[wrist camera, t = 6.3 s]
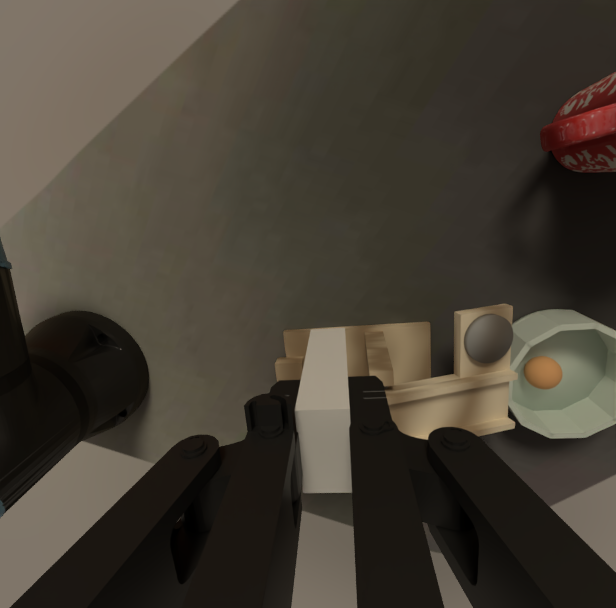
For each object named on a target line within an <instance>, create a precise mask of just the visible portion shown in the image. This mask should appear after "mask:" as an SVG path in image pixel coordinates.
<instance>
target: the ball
mask: <svg viewBox="0 0 616 608" xmlns="http://www.w3.org/2000/svg"><path fill="white" fill-rule="evenodd" d="M562 375H563V374H562V369H561V367H560V365H559V364H558V363H557V362H556V361H555V360H553V359H552V358H549V357H546V356H537V357H534V358H532V359H530V360H529V361H528V362H527V363H526V364H525V367H524V376H525V378H526V380H527V381H528V382H529V383H530V384H531V385H532V386H534V387H536V388H539V389H551V388H554V387H556V386H557V385H558V384H559V383H560V381H561V379H562Z"/></svg>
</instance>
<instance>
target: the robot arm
mask: <svg viewBox="0 0 616 608" xmlns="http://www.w3.org/2000/svg"><path fill="white" fill-rule="evenodd" d="M10 269H12V265H11V263H10V262H8V261H7V258H6V255H5V252H4V249H3V245H2V242H1V238H0V517H1V516H3V514H4V513H5V512H6V511H7V510H8V509H9V508H10V507H12V506H13V505H14V504H15V503H16V502H17V501H18V500H19V499H20V498H21V497H22V496H23V495H24V494H25V493H26V492H27V491H28V490H29V489H31V488H32V486H34V485H35V483H37V482H38V481H39V480H40V479H41V478H42V477H43V476H44V475H45V474H46V473H47V472H48V471H49V470H51V469H52V468H53V466H55V465H56V464H57V463H58V462H59V461H60V460H61V459H62V458H63V457H64V456H65V455H66V454H67V453H69V452H70V450H72V449H73V448H74V447H75V446H76V445H77V444H78V443H79V442H81V441H83V440H85V439H88V438H90V437H92V436H95V435H97V434H99V433H102V432H104V431H106V430H109V429H111V428H113V427H115V426H117V425H119V424H120V423H122V422H123V421H124V420H126V419H127V418H128V417H129V416H130V415H131V414H132V413H133V412H134V411H135V410H136V409H137V408H138V407H139V405H140V404H141V402H142V401H143V399H144V397H145V394H146V391H147V387H148V370H147V365H146V361H145V358H144V356H143V354H142V352H141V350H140V348H139V346H138V345H137V343H136V342H135V340H134V339H133V338H132V337H131V336H130V335H129V333H128V332H127V331H125V330H124V329H123V328H122V327H121V326H119V325H118V324H117V323H115V322H114V321H112V320H110V319H108V318H106V317H104V316H102V315H99V314H96V313H92V312H87V311H70V312H65V313H61V314H59V315H56V316H54V317H51V318H49V319H47V320H45V321H43V322H41V323H39V324H38V325H36V326H35V327H34V328H33V329H32V330H30V331H29V333H28V334H27V335H26V336H25V335H24V331H23V327H22V323H21V318H20V314H19V309H18V305H17V300H16V295H15V291H14V286H13V281H12V277H11V272H10ZM244 409H245V416H246V423H247V430H248V432H247V435H246V438H245V439H244V440H242V441H240V442H237V443H234V444H230V445H225V446H221V447H219V442H218V440H217V439H216V438H215V437H213V436H210V435H195V436H191V437H188V438H186V439H184V440H181V441H180V442H178V443H177V444H176V445H174V446H173V447H172V448H171V449H170V450H169V451H168V452H167V453H166V454H165V455H164V456H163V457H162V458H161V459H160V460H159V461H158V462H157V463H156V464H155V465H154V466H153V467H152V468H151V469H150V470H149V471H148V472H147V473H146V474H145V475H144V476H143V477H142V478H141V479H140V480H139V481H138V482H137V483H136V484H135V485H134V486H133V487H132V488H131V489H130V490H129V491H128V492H127V493H126V494H124V495H123V496H122V497H121V498H120V499H119V500H118V501H117V502H116V503H115V504H114V506H112V507H111V509H109V510H108V511H107V512H106V513H105V514H104V515H103V516H102V517H101V518H100V519H99V520H98V521H97V522H96V523H95V524H94V525H93V526H92V527H91V528H90V529H89V530H88V531H87V532H86V533H85V534H84V535H83V536H82V537H81V538H80V539H79V540H78V541H77V542H76V543H75V544H74V545H73V546H72V547H71V548H70V549H69V550H68V551H67V552H66V553H65V554H64V555H63V556H62V557H61V558H60V559H59V560H58V561H57V562H56V563H55V564H54V565H53V566H52V567H50V569H48V570H47V571H46V572H45V573H44V574H43V575H42V576H41V577H40V578H39V579H38V580H37V581H36V582H35V583H34V584H33V585H32V587H30V588H29V589H28V590H27V591H26V592H25V593H24V594H23V595H22V596H21V597H20V598H19V599H18V600H17V601H16V602H15V603H14V604H13V605H12V606H11V607H10V608H291V602H292V594H293V585H294V576H295V566H296V558H297V549H298V540H299V531H300V521H301V512H302V502H301V485H302V487H303V493H352V501H353V523H354V543H355V564H356V587H357V608H444V605H443V601H442V597H441V593H440V590H439V586H438V582H437V578H436V574H435V570H434V566H433V562H432V558H431V554H430V550H429V547H428V543H427V539H426V535H425V531H424V527H423V523H422V522H425V523H427V524H428V527H429V530H430V532H431V534H432V536H433V538H434V539H435V541H436V543H437V545H438V547H439V548H440V550H441V552H442V554H443V555H444V557H445V559H446V560H447V562H448V564H449V566H450V567H451V569H452V571H453V573H454V575H455V576H456V578H457V580H458V582H459V584H460V585H461V587H462V589H463V591H464V592H465V594H466V596H467V597H468V599H469V601H470V603H471V605H472V606H473V608H616V572H615V571H613V569H612V568H611V567H610V566H609V565H607V564H606V562H605V561H604V560H602V559H601V558H600V557H599V556H598V555H597V554H596V553H595V552H594V551H593V550H592V549H591V548H590V547H589V546H588V545H587V544H586V543H585V542H584V541H583V540H582V539H581V538H580V537H579V536H578V535H577V534H576V533H575V532H574V531H573V530H572V529H571V528H570V527H569V526H568V525H567V524H566V523H565V522H564V521H563V520H562V519H561V518H560V517H559V516H558V515H557V514H556V513H555V512H554V511H553V510H552V509H551V508H550V507H549V506H548V505H547V504H546V503H545V502H544V501H543V500H542V499H541V498H540V497H539V496H538V495H537V494H536V493H535V492H534V491H533V490H532V489H531V488H530V487H529V486H528V485H527V484H526V483H525V482H524V481H523V480H522V479H521V478H520V477H519V476H518V475H517V474H516V473H515V472H514V471H513V470H512V469H511V468H510V467H509V466H508V465H507V464H506V463H505V462H504V461H503V460H502V459H501V458H500V457H499V456H498V455H497V454H496V453H495V452H494V451H493V450H492V449H490V448H489V447H488V446H487V445H486V444H485V443H484V442H483V441H482V440H481V439H480V438H479V437H478V436H477V435H475V434H474V433H472V432H470V431H468V430H465V429H462V428H458V427H441V428H438V429H435V430H433V431H432V432H431V433H430V434H429V437H428V440H426V439H420V438H416V437H412V436H409V435H406V434H404V433H402V432H401V431H399V430H398V427H397V425H396V424H395V422H394V421H392V417H391V413H390V409H389V405H388V401H387V398H386V393H385V389H384V385H383V382H382V381H381V380H380V379H379V378H378V377H376V376H352V377H348V371H347V354H346V337H345V328H329V329H311V331H310V336H309V341H308V346H307V351H306V356H305V361H304V366H303V371H302V376H301V380H279V381H278V382H277V383H276V384H275V385H274V386H272V387H271V390H270V393H268V394H262V395H259V396H256V397H253V398H252V399H250V400H249V401H247V403H246V404H245V405H244ZM180 517H181V518H180ZM177 521H178V522H177Z"/></svg>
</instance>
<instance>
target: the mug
mask: <svg viewBox="0 0 616 608" xmlns="http://www.w3.org/2000/svg"><path fill="white" fill-rule="evenodd" d="M540 138H541V146H542V149H543V150H544V151H546V152H548V151H552V153H553V155H554V157H555V158H556V160H557V161H558V162H559V163H560V164H561V165H562V166H564V167H565V168H567V169H569V170H572V171H576V172H584V173H590V172H592V173H598V172H616V72H614V73H612V74H611V75H609V76H607V77H606V78H604V79H602V80H600V81H599V82H597V83H595V84H593V85H591V86H589V87H587V88H586V89H584V90H582V91H580V92H579V93H577V94H576V95H574V96H573V97H572V98H570V99H569V100H568V101H567V102H566V103H565V104H564V105H563V106H562V107H561V108H560V110H559V111H558V113H557V114H556V116H555V118H554V120H553V123H551V124H549V125H547V126H545V127H543V128H542V130H541V133H540Z"/></svg>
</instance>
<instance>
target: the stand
mask: <svg viewBox="0 0 616 608" xmlns="http://www.w3.org/2000/svg"><path fill="white" fill-rule="evenodd" d="M330 328H345V337H346V354H347V371H348V377H352V376H376V377H378V378H379V379H380V380H381V381H382V382H383V385H384V386H394V385H397V384H403V383H408V382H413V381H419V380H424V379H429V378H431V348H430V323H429V322H414V323H398V324H381V325H364V326H347V327H330ZM313 329H329V328H313ZM310 331H311V329H296V330H284V332H283V334H284V342H285V350H286V357H282V358H277V361H276V363H275V369H276V377H277V382H278V381H279V380H301V376H302V371H303V366H304V361H305V356H306V351H307V346H308V341H309V336H310Z"/></svg>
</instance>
